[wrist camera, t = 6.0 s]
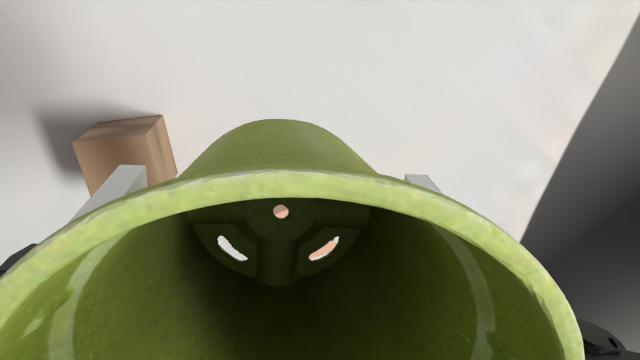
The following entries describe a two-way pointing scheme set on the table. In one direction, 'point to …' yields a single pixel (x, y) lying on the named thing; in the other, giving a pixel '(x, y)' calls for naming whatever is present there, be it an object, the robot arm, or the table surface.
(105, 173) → the walnut cube
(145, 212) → the plant pot
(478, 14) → the table surface
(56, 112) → the table surface
